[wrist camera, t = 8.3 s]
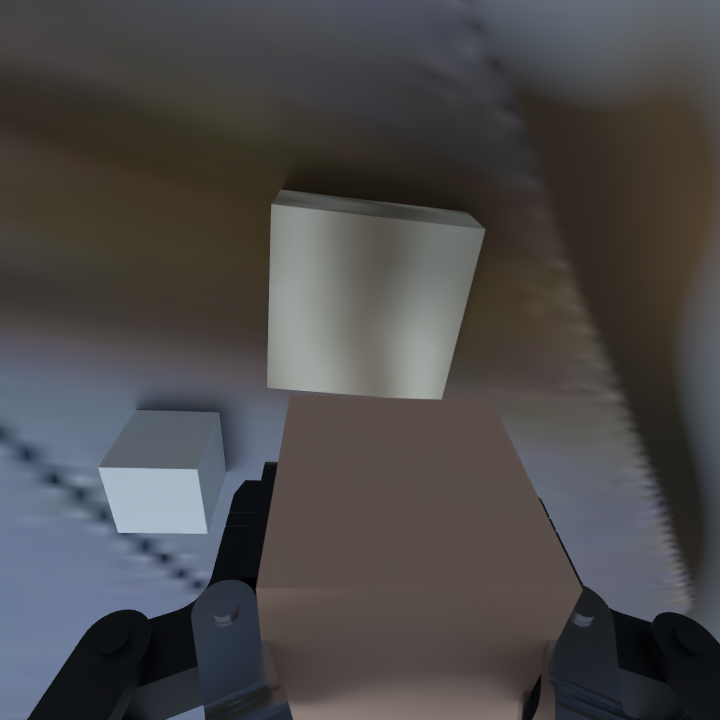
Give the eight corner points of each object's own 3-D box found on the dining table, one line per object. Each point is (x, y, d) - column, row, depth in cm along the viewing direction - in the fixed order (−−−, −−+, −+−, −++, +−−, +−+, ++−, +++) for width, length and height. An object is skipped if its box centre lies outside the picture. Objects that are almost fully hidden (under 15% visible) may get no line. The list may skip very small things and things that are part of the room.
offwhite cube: (150, 469, 33) (118, 532, 28) (136, 409, 30) (98, 467, 26) (226, 471, 34) (207, 533, 29) (219, 411, 31) (197, 469, 26)
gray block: (275, 352, 29) (267, 387, 25) (281, 188, 24) (271, 204, 20) (429, 366, 30) (441, 401, 26) (465, 210, 25) (485, 229, 21)
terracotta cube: (293, 532, 15) (270, 737, 10) (289, 394, 12) (255, 588, 7) (458, 534, 15) (510, 734, 10) (491, 401, 12) (583, 589, 8)
